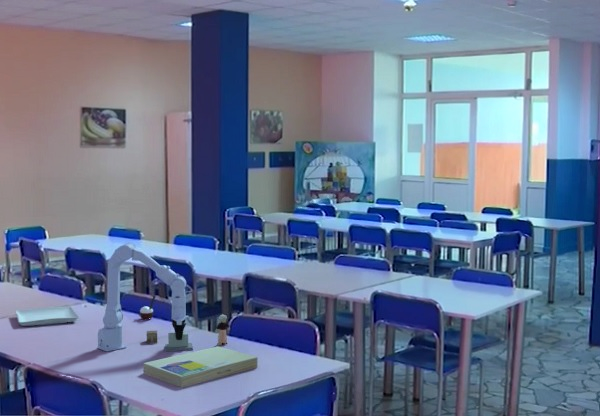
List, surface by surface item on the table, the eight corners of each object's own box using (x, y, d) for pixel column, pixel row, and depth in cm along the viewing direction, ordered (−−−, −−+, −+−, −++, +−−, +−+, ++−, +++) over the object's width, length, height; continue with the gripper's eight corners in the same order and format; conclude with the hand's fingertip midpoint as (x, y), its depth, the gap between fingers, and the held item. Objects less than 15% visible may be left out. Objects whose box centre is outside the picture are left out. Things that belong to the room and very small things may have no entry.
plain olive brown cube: (157, 343, 318) (157, 332, 318) (146, 343, 318) (146, 333, 317) (157, 340, 323) (157, 330, 323) (146, 340, 322) (146, 330, 322)
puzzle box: (258, 369, 282) (218, 356, 299) (258, 357, 282) (218, 345, 299) (180, 389, 257) (141, 374, 274) (180, 376, 257) (141, 362, 273)
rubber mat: (191, 345, 315) (191, 342, 315) (192, 349, 307) (192, 347, 307) (165, 346, 313) (165, 343, 313) (165, 351, 305) (165, 348, 305)
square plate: (14, 317, 368) (14, 309, 368) (71, 313, 380) (71, 305, 379) (18, 329, 344) (18, 320, 343) (79, 324, 355) (79, 316, 355)
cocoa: (136, 319, 365) (135, 295, 364) (147, 317, 370) (146, 293, 369) (147, 321, 358) (145, 297, 358) (158, 319, 363) (156, 295, 362)
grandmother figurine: (220, 346, 313) (220, 316, 312) (213, 344, 315) (213, 315, 315) (232, 342, 319) (232, 313, 318) (225, 341, 322) (225, 312, 321)
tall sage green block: (187, 343, 312) (187, 332, 312) (188, 346, 309) (188, 334, 308) (168, 344, 311) (168, 332, 311) (168, 347, 307) (168, 335, 307)
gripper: (189, 309, 302) (189, 342, 303) (187, 302, 316) (187, 333, 317) (171, 309, 301) (171, 342, 302) (170, 302, 315) (171, 334, 316)
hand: (178, 338), depth 310 cm, fingers open, 4 cm apart
